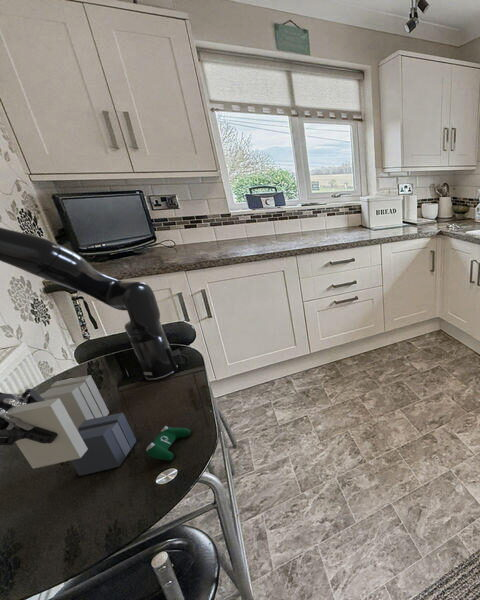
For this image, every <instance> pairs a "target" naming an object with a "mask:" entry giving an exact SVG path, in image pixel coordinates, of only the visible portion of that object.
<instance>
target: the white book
mask: <svg viewBox="0 0 480 600" xmlns="http://www.w3.org/2000/svg"><path fill="white" fill-rule="evenodd" d="M6 412H8V414H9V415H12V416H15V417H18V418H20V419H21V421H23V422H26V423H28V424H30V425H32V426H33V428H34V427H36V426H37V427H40V428H43V429H46V430H49V431H53V432H56V433H57V434H58V435H57V437H56V438H55V440H54V441H53V442H52V443H50V444H48V443H46V444H45V443H39V442H36V441H33V440H29V439H20V440H18V441H16V442H15V445H16V446H17V447H18V448H19V450H20V451H21V454H22V455H23V456H24V458H25V459H26V461H27V462H28V464H29V465H30V467H31V468H32V469H33V470H34V469H39V468H42V467H43V468H44V467H48V466H52V465H56V464H61V463H64V462H69V461H70V460H74V459H78V458H81V457H82V456H83V455H84V453H85V452H86V451H87V450H88V448H87V447H86V445H85V443H84V441H83V439H82V438H81V436H80V434H79V432H78V430H77V429H76V427H75V425H74V423H73V422H72V420H71V418H70V416H69V414H68V413H67V411H66V409H65V407H64V405H63V404H62V402H61V400H60V398H56V399H51V400H46V401H41V402H36V403H30V404H25V405H20V406H17V407H13V408H10V409H9V410H8V411H6ZM16 429H18V428H16ZM70 462H71V461H70Z"/></svg>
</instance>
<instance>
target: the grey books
mask: <svg viewBox="0 0 480 600" xmlns="http://www.w3.org/2000/svg"><path fill="white" fill-rule="evenodd" d="M78 429H79V431H78V432H79V434H80V436H81V438H82V439H83V441H84V443H85V445H86V447H87V448H88V450H87V451H86V452H85V453H84V455H83V456H82V457H81V458H78V459H74V460H70V463H71V465H72V467H73V468H74V470H75V471H76V474H77V475H78V476H79V477H80V476H81V477H82V476H85V475H88V474H89V475H90V474H94V473H97V472H102V471H106V470H110V469H111V470H112V469H114V468H119V467H120V466H121V465H122V463H123V462H124V461H125V459H126V457H127V456H128V454H129V453H130V451H131V450H132V448H133V447H134V445H135V444H136V443H137V439H136V437H135V435H134V433H133V431H132V429H131V427H130V424H129V422H128V420H127V418H126V416H125V413H124V412H119V413H113V414H108V415H107V416H104V417H99V418H94V419H89V420H85V421H84V422H83V423H82V424H81V425H80V426H79V427H78Z"/></svg>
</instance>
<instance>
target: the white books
mask: <svg viewBox="0 0 480 600" xmlns="http://www.w3.org/2000/svg"><path fill="white" fill-rule="evenodd" d="M39 395H40V396H41V397H42V398H43V399H44V400H51V399H56V398H60V400H61V402H62V404H63V405H64V407H65V409H66V411H67V413H68V414H69V416H70V418H71V420H72V422H73V423H74V425H75V427H76V429H77V430H78V431H79V429H78V427H79V426H80V425H81V424H82V423H83V422H84V421H85V420H89V419H94V418H99V417H104V416H109V415H110V411H109V408H108V407H107V405H106V402H105V401H104V399H103V396H102V395H101V392H100V391H99V389H98V386H97V385H96V382H95V381H94V379H93V377H92V374H89V375H84V376H77V377H72V378H67V379H62V380H56V381H55V382H54V383H52V384H51V385H50V388H48V389H47V390H46V391H44V392H43V393H40V394H39Z"/></svg>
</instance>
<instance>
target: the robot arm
mask: <svg viewBox="0 0 480 600" xmlns="http://www.w3.org/2000/svg"><path fill="white" fill-rule="evenodd" d="M0 262H2V263H5V264H7V265H10V266H12V267H15V268H18V269H19V270H21V271H24V272H27V273H29V274H32V275H34V276H36V277H39V278H41V279H43V280H47V281H49V282H51V283H54V284H57V285H60V286H63V287H66V288H67V289H71V290H74V291H77V292H80V293H82V294H85V295H87V296H89V297H92V298H94V299H95V300H97V301H99V302H101V303H103V304H105V305H107V306H109V307H110V308H113V309H114V310H118V311H125V312H127V314H128V318H129V321H128V322H126V323H125V324H124V330H125V333H126V335H127V337H128V340H129V342H130V344H131V346H132V349H133V352H134V353H135V356H136V358H137V361H138V363H139V365H140V368H141V371H142V373H143V375H144V378H145V379H146V381H149V382H152V381H159V380H162V379H165V378H168V377H170V376H172V375H174V374H175V373H177V372H179V366H178V363H179V362H182V361H183V360H182V358H184V359H185V365H188V364H189V363H190V358H189V356H188V355H186V354H184V353H181V351H180V349H179V348H178V349H174V350H172V346H171V344H170V342H169V341H168V339H167V338H168V337H167V335H166V333H165V330H164V328H163V325H162V322H161V312H160V308H159V304H158V301H157V299H156V295H155V293H154V291H153V289H152V288H151V286H149V284H147V283H145V282H143V281H125V280H120V279H116V278H114V277H111V276H109V275H106V274H104V273H102V272H100V271H99V270H97V269H95V268H94V267H93V266H92V265H91V264H90V263H89V262H88V261H87V260H86V259H84V258H83V257H82V256H81V255H80V254H78V253H76V252H75V251H73V250H71V249H69V248H68V247H65V246H63V245H61V244H59V243H57V242H54V241H53V240H50V239H48V238H44V237H40V236H38V235H33V234H30V233H25V232H20V231H15V230H12V229H8V228H4V227H1V226H0ZM41 401H46V400H44V399H43V398H42V397H41V396H40V394H39V393H38V392H37V391H36V390H35V389H33V388H26V389H25V390H24V392H21V393H18V394H13V393H6V392H5V393H4V392H1V391H0V446H12V445H14V444H16V441H18V440H20V439H29V440H33V441H36V442H39V443H45V444H46V443H48V444H50V443H52V442H53V441H54V440H55V438H56V437H57V435H58V434H57V433H56V432H53V431H49V430H46V429H43V428H40V427H37V426H36V427H34V428H33V426H32V425H30V424H28V423H26V422H23V421H21V419H20V418H18V417H15V416H12V415H9V414H8V412H6V411H8V410H9V409H10V408H13V407H17V406H20V405H25V404H30V403H36V402H41ZM16 428H18V429H16Z"/></svg>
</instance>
